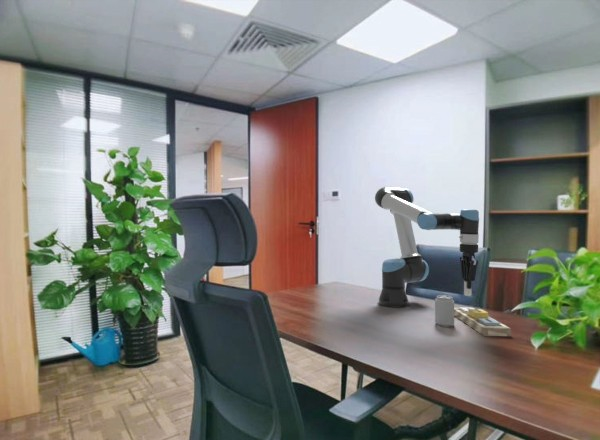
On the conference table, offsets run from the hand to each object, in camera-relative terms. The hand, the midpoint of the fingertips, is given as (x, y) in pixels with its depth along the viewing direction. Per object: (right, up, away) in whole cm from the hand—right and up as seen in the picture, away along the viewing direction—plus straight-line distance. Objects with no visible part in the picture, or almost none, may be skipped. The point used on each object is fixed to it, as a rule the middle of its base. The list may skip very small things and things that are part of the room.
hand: (467, 295), depth 152 cm
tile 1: (0, -9, -1) cm, 9 cm away
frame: (0, -10, -9) cm, 14 cm away
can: (-15, -10, -10) cm, 21 cm away
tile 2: (0, -8, -9) cm, 12 cm away
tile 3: (0, -9, -18) cm, 20 cm away
